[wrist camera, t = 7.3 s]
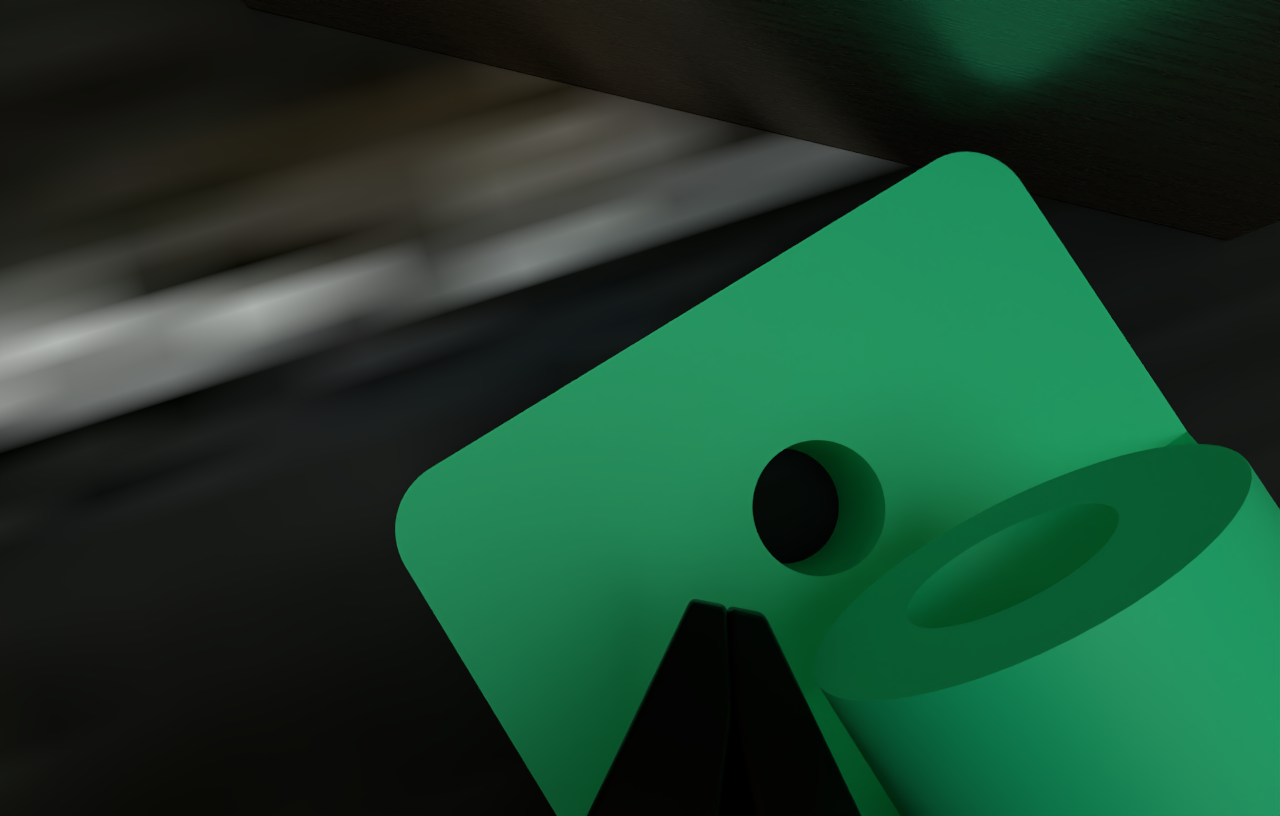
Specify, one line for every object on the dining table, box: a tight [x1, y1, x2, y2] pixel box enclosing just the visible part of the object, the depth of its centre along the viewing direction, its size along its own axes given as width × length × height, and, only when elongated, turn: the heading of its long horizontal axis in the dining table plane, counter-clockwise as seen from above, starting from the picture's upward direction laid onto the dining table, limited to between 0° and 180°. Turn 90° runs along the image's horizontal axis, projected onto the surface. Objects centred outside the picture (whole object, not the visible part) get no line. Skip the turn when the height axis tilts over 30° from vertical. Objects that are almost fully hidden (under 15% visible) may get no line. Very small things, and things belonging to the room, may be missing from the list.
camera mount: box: [395, 152, 1280, 816], centre depth 11 cm, size 12×8×10 cm, turn 122°
